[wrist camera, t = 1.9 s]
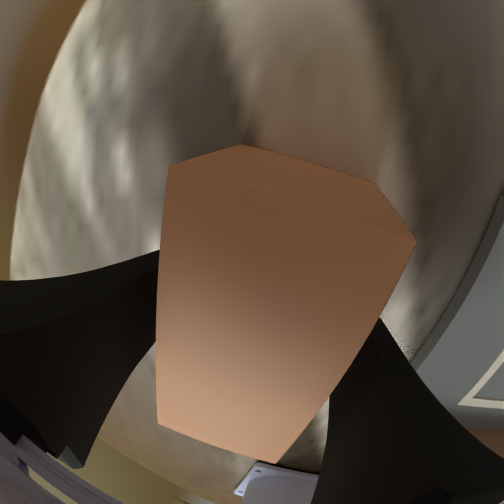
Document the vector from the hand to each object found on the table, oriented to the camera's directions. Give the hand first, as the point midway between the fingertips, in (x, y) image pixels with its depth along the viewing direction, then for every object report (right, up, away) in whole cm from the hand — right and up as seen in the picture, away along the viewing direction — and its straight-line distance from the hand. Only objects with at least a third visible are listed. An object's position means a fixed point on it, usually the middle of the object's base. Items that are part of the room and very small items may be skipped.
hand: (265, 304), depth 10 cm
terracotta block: (0, +1, +2) cm, 2 cm away
